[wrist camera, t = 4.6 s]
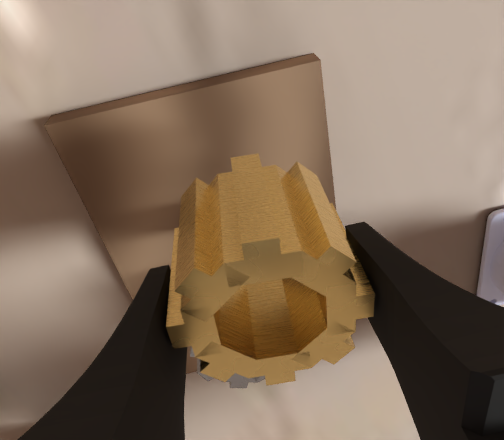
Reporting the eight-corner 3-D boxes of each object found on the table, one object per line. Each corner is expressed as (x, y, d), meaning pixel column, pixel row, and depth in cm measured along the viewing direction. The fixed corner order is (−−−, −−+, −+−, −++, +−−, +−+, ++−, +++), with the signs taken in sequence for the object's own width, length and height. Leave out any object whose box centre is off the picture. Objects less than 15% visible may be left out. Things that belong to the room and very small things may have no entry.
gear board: (314, 53, 19) (351, 92, 15) (343, 323, 29) (371, 395, 25) (51, 115, 19) (8, 173, 15) (172, 361, 30) (168, 440, 25)
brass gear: (331, 142, 14) (378, 222, 10) (334, 271, 17) (370, 368, 13) (157, 169, 14) (141, 259, 10) (193, 294, 17) (191, 397, 13)
